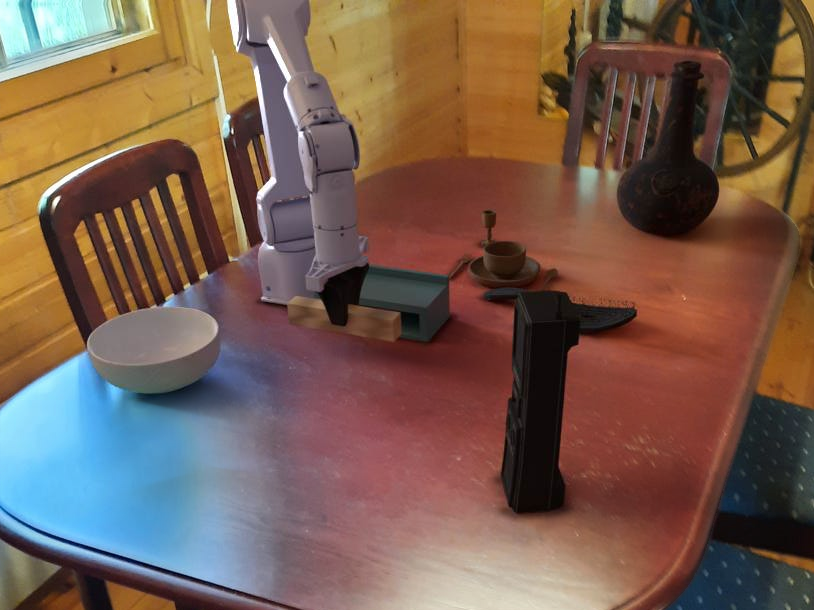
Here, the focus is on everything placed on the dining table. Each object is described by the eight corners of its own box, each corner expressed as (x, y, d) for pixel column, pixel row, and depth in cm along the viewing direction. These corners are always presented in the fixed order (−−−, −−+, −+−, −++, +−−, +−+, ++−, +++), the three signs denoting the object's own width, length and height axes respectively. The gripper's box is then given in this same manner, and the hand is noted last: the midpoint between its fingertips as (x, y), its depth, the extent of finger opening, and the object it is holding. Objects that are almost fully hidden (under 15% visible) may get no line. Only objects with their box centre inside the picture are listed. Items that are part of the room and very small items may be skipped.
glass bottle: (603, 238, 155) (620, 70, 138) (625, 206, 168) (643, 49, 151) (704, 250, 149) (734, 77, 133) (718, 216, 162) (747, 54, 146)
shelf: (317, 324, 130) (313, 282, 126) (344, 300, 136) (340, 260, 132) (427, 342, 124) (426, 299, 120) (449, 316, 131) (449, 275, 127)
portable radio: (498, 472, 98) (504, 264, 83) (549, 468, 98) (565, 261, 83) (508, 515, 92) (517, 299, 77) (564, 511, 92) (583, 295, 77)
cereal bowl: (112, 425, 108) (98, 376, 104) (89, 368, 120) (76, 322, 116) (242, 390, 114) (234, 343, 110) (208, 340, 126) (199, 296, 122)
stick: (289, 324, 120) (286, 303, 118) (298, 316, 122) (296, 295, 120) (394, 342, 115) (392, 320, 113) (401, 333, 117) (400, 312, 115)
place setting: (440, 283, 141) (439, 248, 137) (481, 240, 155) (481, 208, 152) (543, 298, 135) (545, 262, 132) (575, 252, 150) (578, 219, 146)
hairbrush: (497, 270, 137) (646, 296, 125) (497, 292, 139) (644, 319, 127) (470, 289, 132) (624, 318, 120) (471, 312, 134) (622, 342, 122)
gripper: (337, 246, 103) (346, 347, 111) (387, 207, 113) (392, 302, 121) (286, 239, 105) (298, 339, 113) (339, 201, 116) (347, 295, 124)
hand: (344, 319), depth 117 cm, fingers closed on stick, 2 cm apart
